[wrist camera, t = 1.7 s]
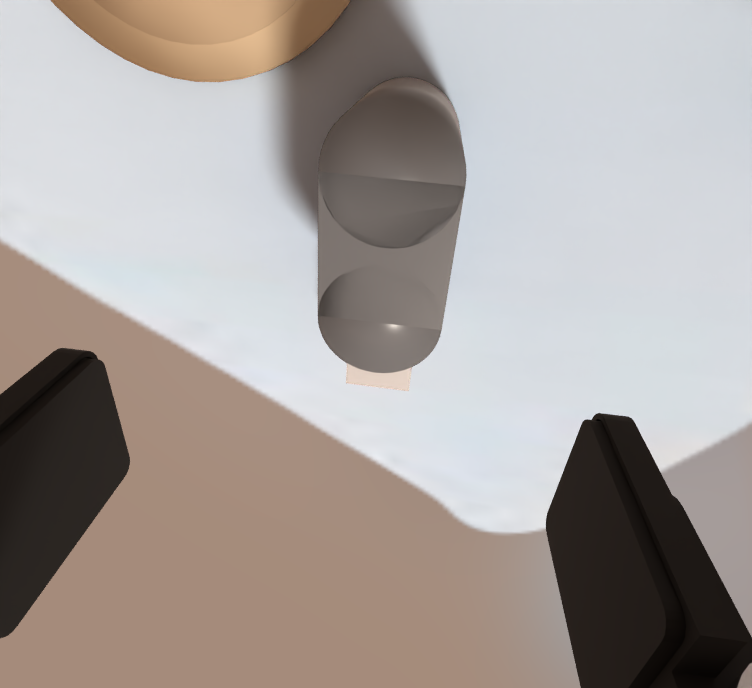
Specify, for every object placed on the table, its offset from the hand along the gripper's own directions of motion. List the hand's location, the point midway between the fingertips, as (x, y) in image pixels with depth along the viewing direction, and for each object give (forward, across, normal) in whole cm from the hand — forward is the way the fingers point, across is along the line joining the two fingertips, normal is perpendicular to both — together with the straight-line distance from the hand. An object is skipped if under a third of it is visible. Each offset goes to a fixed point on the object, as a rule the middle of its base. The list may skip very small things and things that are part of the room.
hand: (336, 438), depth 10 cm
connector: (+14, 0, 0) cm, 14 cm away
